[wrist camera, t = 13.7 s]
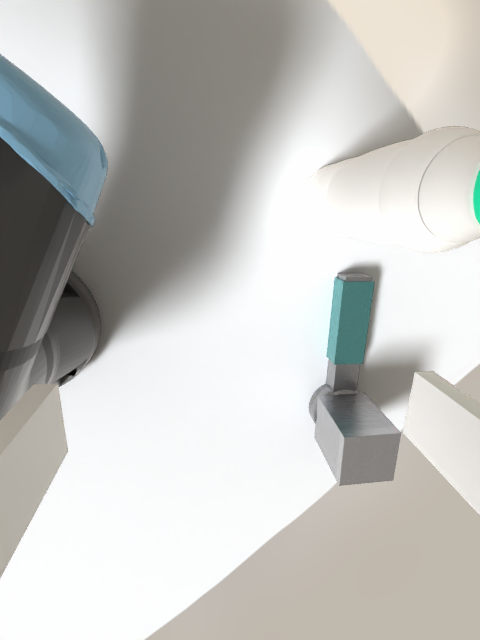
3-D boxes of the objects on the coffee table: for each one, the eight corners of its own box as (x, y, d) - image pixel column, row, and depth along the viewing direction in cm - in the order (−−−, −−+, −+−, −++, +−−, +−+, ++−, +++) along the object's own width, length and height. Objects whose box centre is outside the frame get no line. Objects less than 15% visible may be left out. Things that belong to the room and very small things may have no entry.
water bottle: (372, 209, 38) (667, 209, 14) (319, 246, 38) (517, 306, 15) (343, 150, 35) (635, 33, 12) (286, 191, 36) (459, 155, 12)
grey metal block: (314, 437, 43) (339, 485, 36) (317, 395, 41) (344, 437, 34) (359, 433, 44) (393, 480, 36) (364, 392, 42) (401, 433, 35)
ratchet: (356, 425, 47) (378, 455, 41) (306, 428, 46) (322, 459, 40) (378, 273, 40) (408, 283, 34) (321, 273, 39) (342, 283, 34)
